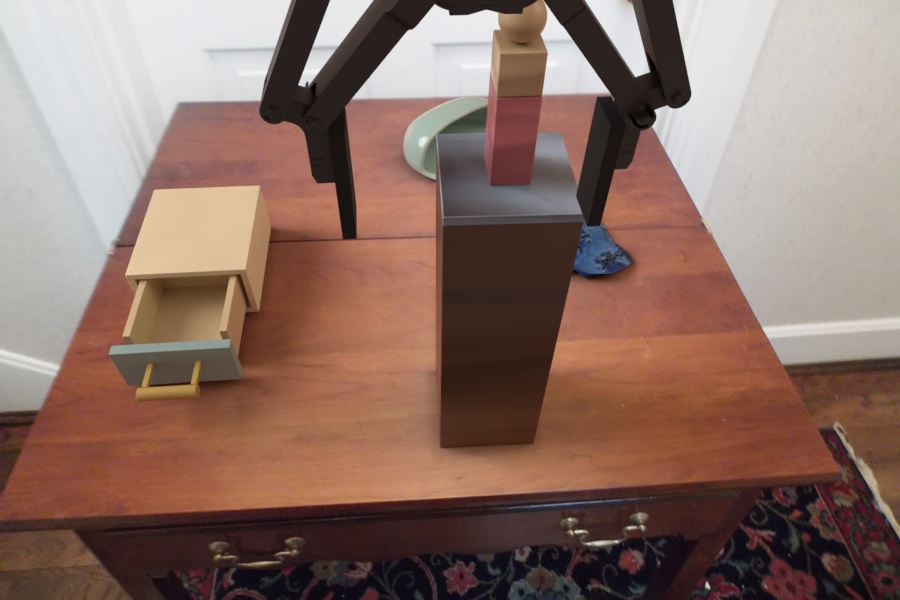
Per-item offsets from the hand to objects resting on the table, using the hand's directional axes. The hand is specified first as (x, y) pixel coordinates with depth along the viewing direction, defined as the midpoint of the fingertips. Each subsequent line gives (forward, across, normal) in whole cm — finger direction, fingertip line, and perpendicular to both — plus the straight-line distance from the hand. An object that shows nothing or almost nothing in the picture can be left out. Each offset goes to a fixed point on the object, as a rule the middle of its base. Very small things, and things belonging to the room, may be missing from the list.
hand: (470, 217), depth 37 cm
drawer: (+36, +28, -21) cm, 51 cm away
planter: (+37, -7, -59) cm, 70 cm away
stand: (+37, -4, -11) cm, 39 cm away
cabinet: (+37, +28, -35) cm, 58 cm away
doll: (+5, -4, -11) cm, 13 cm away
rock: (+37, -20, -36) cm, 56 cm away
